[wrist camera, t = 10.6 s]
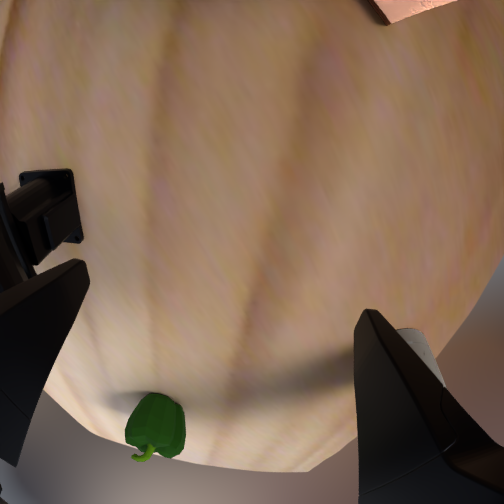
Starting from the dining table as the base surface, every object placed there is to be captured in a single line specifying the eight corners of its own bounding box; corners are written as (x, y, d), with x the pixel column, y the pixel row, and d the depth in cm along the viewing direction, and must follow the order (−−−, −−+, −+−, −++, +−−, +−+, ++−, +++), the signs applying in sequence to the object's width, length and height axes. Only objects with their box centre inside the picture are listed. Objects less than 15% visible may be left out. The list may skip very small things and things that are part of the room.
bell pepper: (187, 392, 33) (172, 461, 25) (194, 417, 37) (184, 476, 29) (127, 381, 33) (106, 444, 25) (143, 408, 38) (127, 463, 29)
